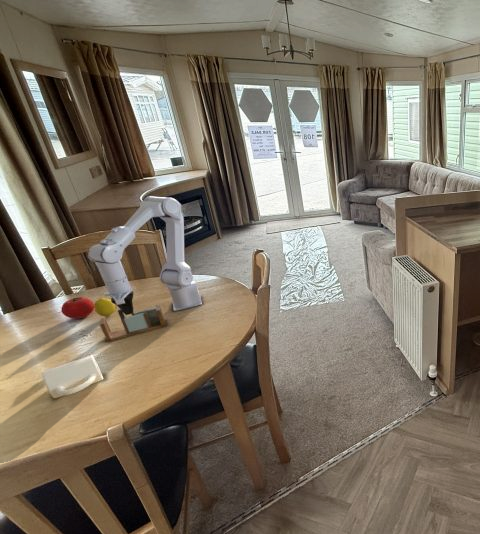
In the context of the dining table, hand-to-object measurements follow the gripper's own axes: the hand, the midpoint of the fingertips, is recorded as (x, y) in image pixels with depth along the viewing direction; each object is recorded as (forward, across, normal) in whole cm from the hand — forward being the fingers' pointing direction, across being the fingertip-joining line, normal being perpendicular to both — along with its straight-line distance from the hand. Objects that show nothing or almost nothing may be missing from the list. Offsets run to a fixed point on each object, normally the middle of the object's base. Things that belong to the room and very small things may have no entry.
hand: (129, 313), depth 118 cm
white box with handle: (+8, +26, -12) cm, 30 cm away
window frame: (+8, -1, 0) cm, 8 cm away
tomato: (+8, -25, -17) cm, 31 cm away
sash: (+7, 0, +1) cm, 7 cm away
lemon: (+8, -19, -9) cm, 23 cm away
